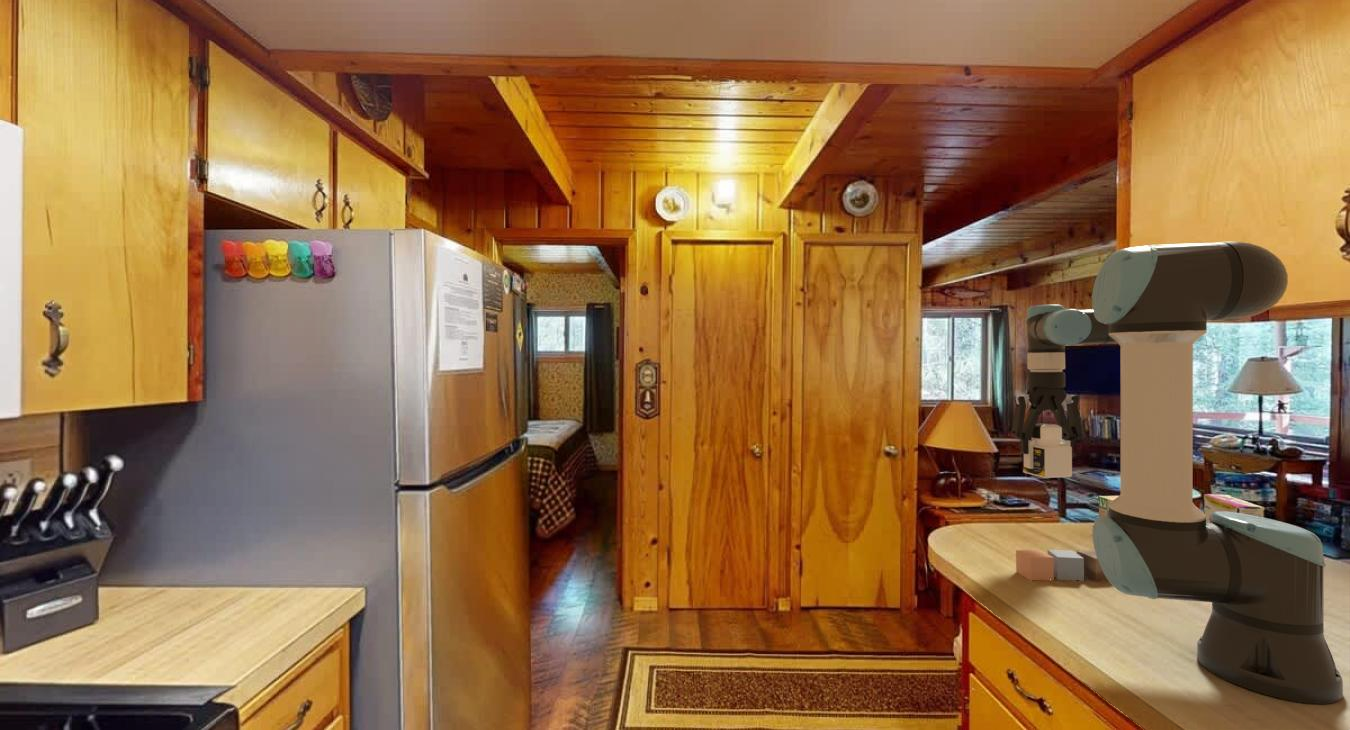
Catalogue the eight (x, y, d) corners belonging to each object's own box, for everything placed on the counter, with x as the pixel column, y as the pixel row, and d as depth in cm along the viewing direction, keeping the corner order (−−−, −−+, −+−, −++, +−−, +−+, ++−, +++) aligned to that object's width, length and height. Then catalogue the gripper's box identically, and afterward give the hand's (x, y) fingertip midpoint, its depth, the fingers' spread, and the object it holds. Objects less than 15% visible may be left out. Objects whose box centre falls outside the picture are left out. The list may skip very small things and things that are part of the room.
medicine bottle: (1022, 472, 139) (1021, 422, 139) (1049, 471, 140) (1048, 422, 140) (1044, 478, 132) (1043, 426, 132) (1072, 477, 133) (1072, 425, 133)
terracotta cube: (1053, 580, 123) (1053, 557, 123) (1030, 581, 123) (1030, 557, 123) (1038, 572, 128) (1038, 549, 128) (1016, 572, 128) (1016, 550, 128)
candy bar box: (1202, 565, 130) (1202, 493, 130) (1228, 567, 129) (1228, 494, 129) (1238, 584, 119) (1237, 505, 119) (1267, 586, 118) (1267, 506, 118)
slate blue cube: (1084, 581, 122) (1083, 558, 122) (1057, 580, 123) (1057, 557, 123) (1073, 573, 127) (1072, 550, 127) (1047, 571, 128) (1047, 549, 128)
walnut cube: (1117, 580, 123) (1117, 557, 123) (1095, 582, 122) (1095, 558, 122) (1097, 572, 128) (1097, 549, 128) (1076, 573, 127) (1076, 550, 127)
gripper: (1080, 370, 139) (1081, 464, 139) (993, 371, 140) (994, 464, 140) (1102, 370, 131) (1103, 470, 132) (1009, 371, 133) (1010, 470, 133)
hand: (1046, 467), depth 136 cm, fingers closed on medicine bottle, 8 cm apart
